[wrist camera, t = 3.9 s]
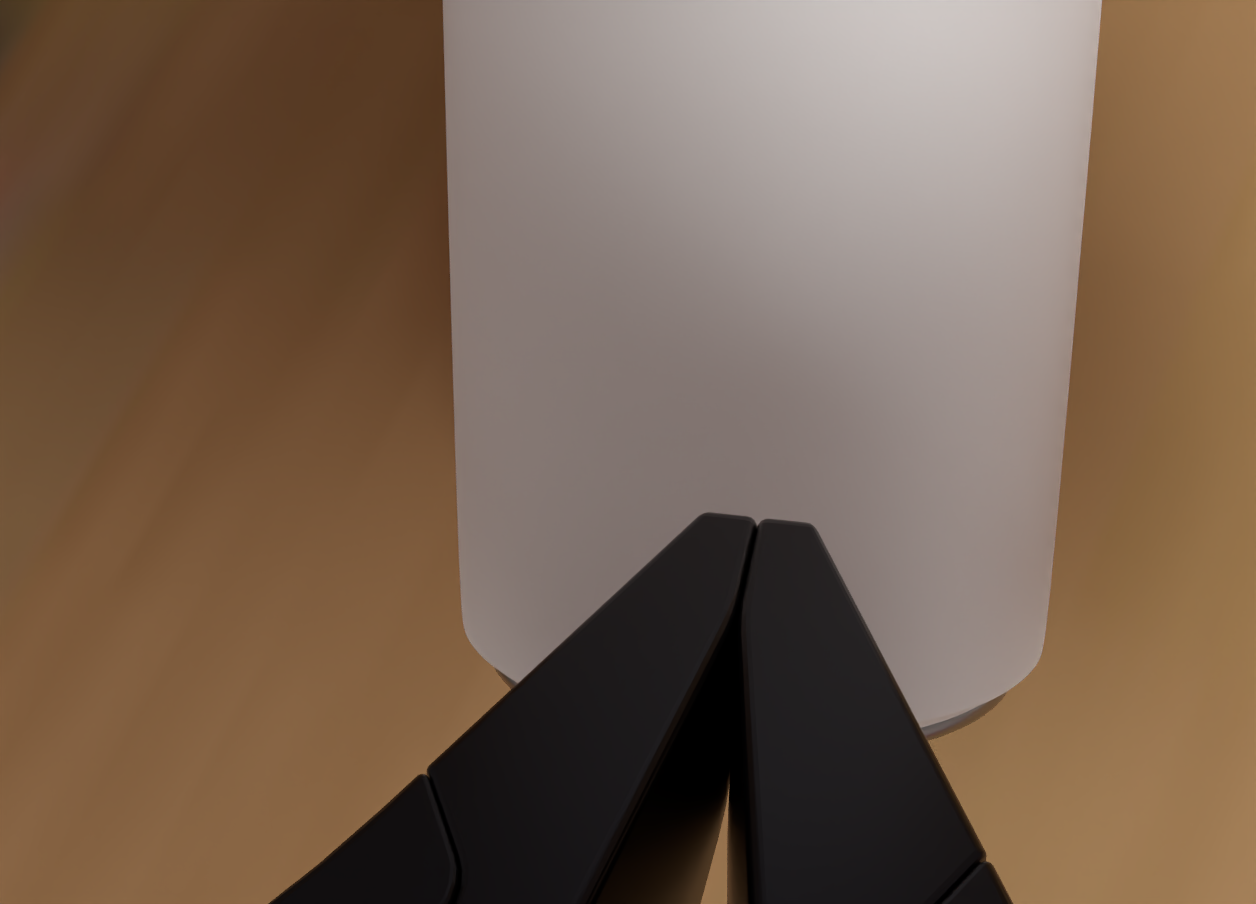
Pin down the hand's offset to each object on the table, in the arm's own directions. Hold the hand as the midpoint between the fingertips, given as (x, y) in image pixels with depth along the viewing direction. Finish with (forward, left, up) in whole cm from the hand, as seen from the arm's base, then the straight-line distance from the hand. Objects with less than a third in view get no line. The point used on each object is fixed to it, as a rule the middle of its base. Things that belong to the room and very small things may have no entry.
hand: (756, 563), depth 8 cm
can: (-1, 0, -5) cm, 5 cm away
